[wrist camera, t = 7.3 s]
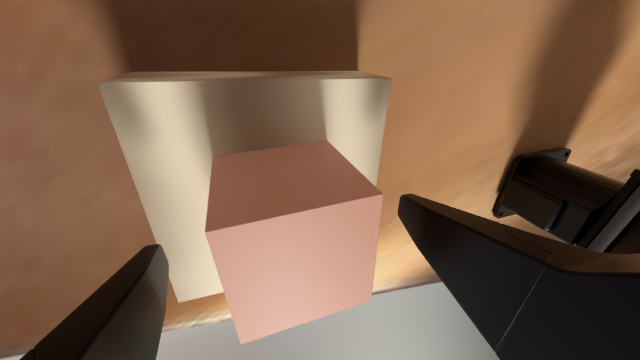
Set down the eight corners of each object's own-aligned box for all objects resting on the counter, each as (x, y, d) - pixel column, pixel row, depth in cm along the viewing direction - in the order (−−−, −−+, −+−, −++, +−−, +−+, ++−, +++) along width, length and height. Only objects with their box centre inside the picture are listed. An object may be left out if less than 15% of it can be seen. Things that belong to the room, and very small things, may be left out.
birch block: (354, 70, 15) (391, 78, 11) (341, 222, 20) (365, 258, 17) (134, 70, 12) (97, 82, 8) (188, 250, 17) (178, 302, 13)
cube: (326, 139, 12) (383, 194, 8) (328, 224, 14) (370, 300, 10) (212, 156, 10) (204, 232, 6) (235, 246, 13) (240, 344, 9)
